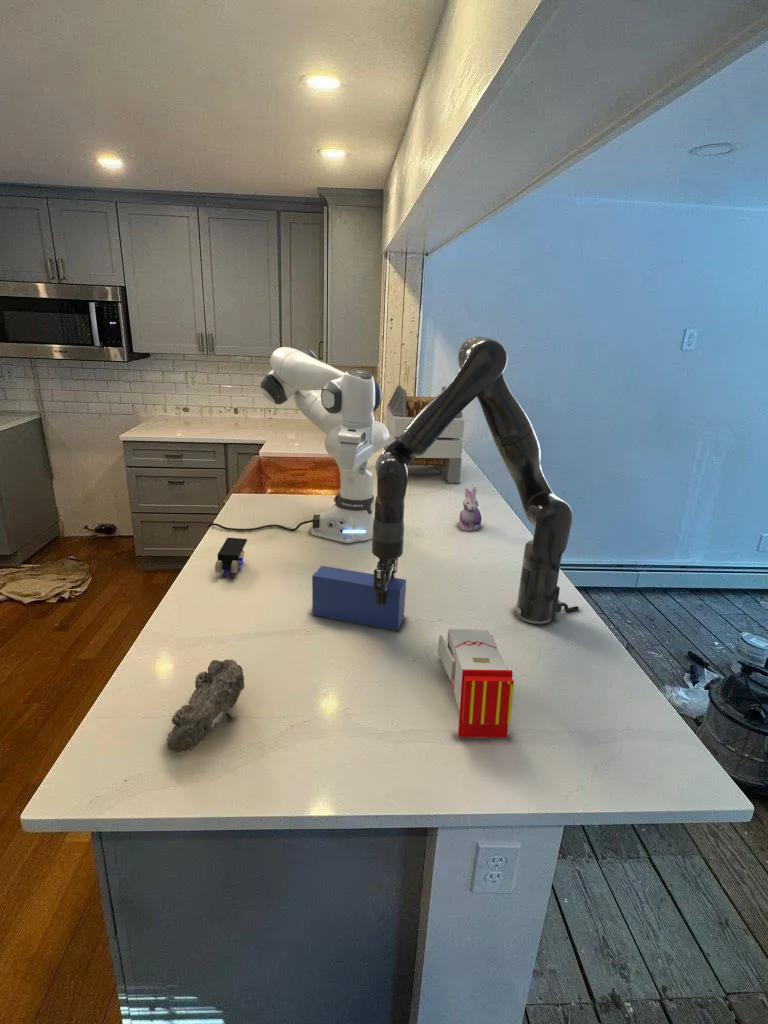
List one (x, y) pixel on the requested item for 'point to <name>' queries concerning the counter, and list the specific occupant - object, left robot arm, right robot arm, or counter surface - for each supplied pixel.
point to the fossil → (206, 705)
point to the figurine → (470, 512)
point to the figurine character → (230, 556)
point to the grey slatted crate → (446, 445)
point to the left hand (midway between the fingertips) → (357, 478)
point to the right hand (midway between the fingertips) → (385, 597)
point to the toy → (478, 682)
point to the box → (357, 598)
